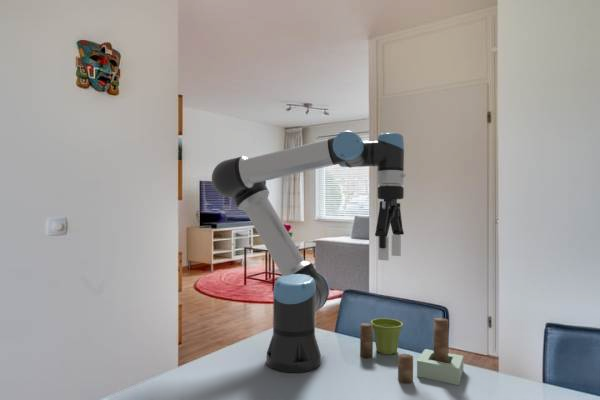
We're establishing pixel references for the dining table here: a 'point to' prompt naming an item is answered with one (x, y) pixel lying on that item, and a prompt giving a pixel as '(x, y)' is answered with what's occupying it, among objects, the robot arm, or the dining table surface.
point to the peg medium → (366, 340)
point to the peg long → (441, 340)
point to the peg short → (405, 368)
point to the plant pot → (386, 334)
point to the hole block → (440, 367)
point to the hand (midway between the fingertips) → (390, 257)
